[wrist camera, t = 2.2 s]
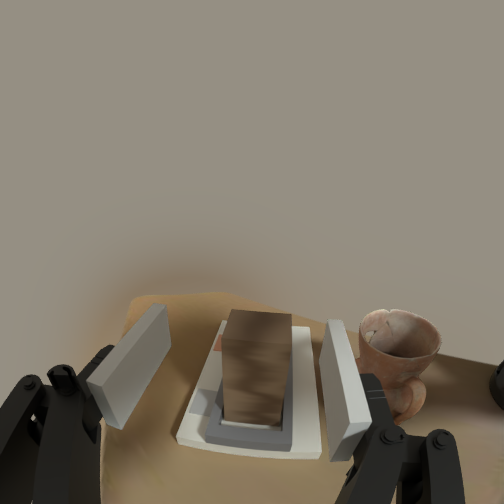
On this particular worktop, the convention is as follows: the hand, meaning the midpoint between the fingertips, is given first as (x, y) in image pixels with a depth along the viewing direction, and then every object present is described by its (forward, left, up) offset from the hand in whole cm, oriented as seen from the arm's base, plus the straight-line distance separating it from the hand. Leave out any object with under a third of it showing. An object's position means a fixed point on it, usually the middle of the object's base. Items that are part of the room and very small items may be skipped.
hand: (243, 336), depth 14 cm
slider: (0, -13, -22) cm, 25 cm away
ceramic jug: (-19, -16, -24) cm, 35 cm away
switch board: (0, -21, -24) cm, 32 cm away
